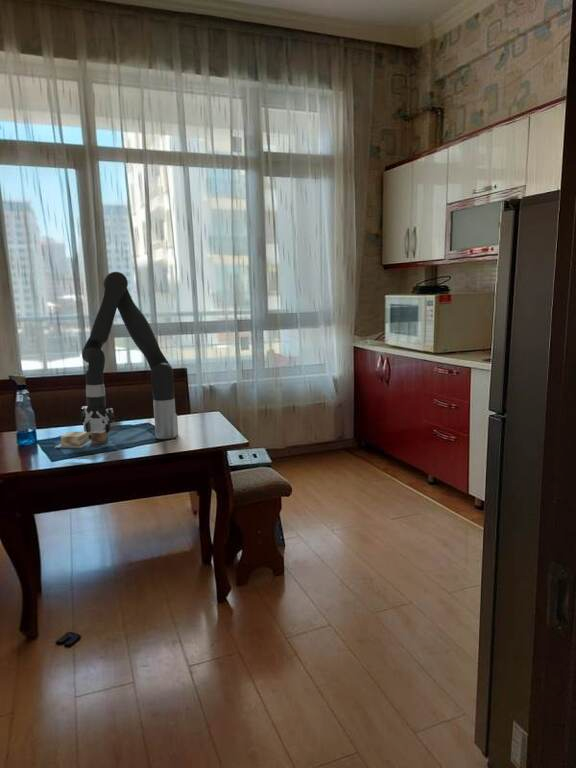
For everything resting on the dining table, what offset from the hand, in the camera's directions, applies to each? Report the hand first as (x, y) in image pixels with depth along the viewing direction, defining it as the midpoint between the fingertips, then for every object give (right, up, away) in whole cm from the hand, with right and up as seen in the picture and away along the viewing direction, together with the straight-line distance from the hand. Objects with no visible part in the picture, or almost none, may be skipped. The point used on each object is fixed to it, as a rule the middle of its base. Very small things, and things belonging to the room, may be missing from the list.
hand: (98, 432), depth 218 cm
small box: (-8, -3, +17) cm, 20 cm away
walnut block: (+1, -6, +1) cm, 6 cm away
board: (-9, -6, 0) cm, 11 cm away
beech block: (-9, -5, -1) cm, 11 cm away
